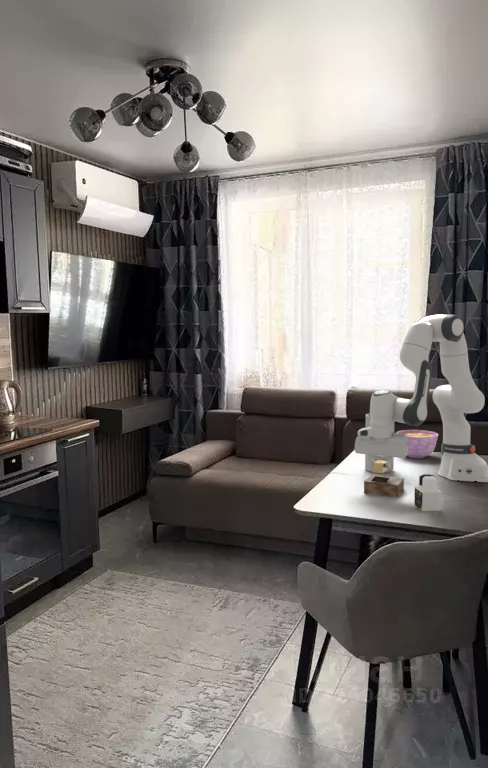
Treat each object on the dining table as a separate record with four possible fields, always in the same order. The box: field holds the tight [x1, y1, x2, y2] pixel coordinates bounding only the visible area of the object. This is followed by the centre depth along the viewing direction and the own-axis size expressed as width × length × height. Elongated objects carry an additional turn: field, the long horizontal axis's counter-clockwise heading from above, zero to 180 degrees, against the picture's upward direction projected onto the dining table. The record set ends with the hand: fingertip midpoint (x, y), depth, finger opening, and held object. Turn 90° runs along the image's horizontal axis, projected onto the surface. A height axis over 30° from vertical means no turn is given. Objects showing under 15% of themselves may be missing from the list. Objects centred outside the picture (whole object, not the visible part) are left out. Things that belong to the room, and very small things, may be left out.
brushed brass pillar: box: [372, 460, 388, 474], centre depth 229 cm, size 4×6×4 cm, turn 147°
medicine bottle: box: [413, 474, 442, 513], centre depth 208 cm, size 7×7×12 cm
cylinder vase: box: [364, 413, 395, 474], centre depth 262 cm, size 12×12×25 cm
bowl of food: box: [396, 429, 439, 459], centre depth 289 cm, size 20×20×12 cm
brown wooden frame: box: [363, 474, 405, 498], centre depth 229 cm, size 13×11×5 cm
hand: (380, 466), depth 229 cm, fingers closed on brushed brass pillar, 4 cm apart
